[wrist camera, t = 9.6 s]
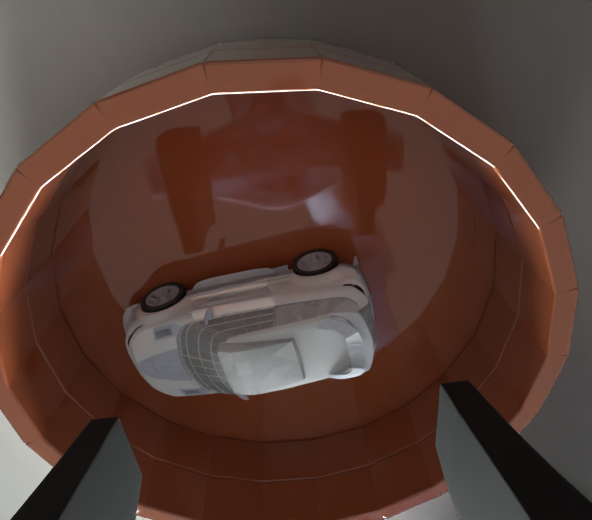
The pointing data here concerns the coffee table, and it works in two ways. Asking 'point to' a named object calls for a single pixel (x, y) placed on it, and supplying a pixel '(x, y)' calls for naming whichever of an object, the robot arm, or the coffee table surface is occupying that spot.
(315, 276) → the toy car
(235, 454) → the bowl
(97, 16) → the coffee table surface
